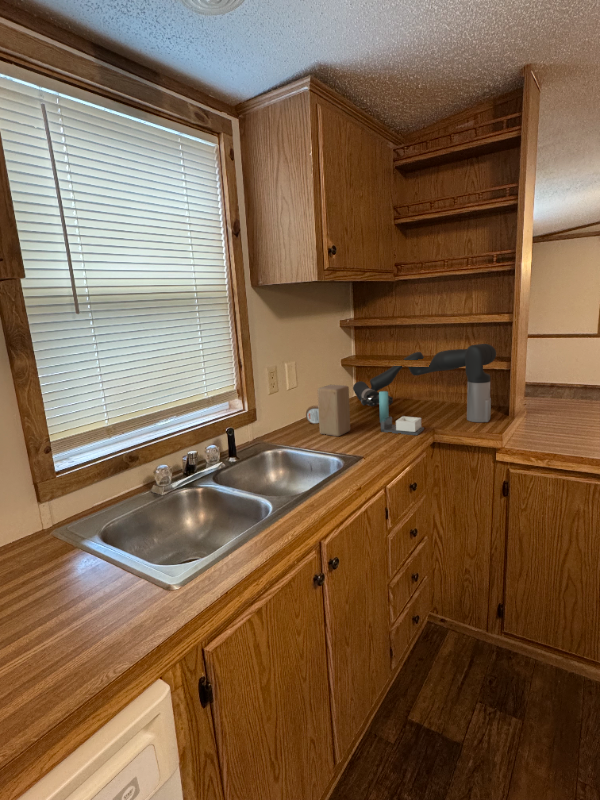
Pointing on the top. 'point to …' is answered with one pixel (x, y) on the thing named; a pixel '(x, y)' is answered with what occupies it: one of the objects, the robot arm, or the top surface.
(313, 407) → the tin
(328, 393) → the wooden block
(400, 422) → the socket block
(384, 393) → the dowel
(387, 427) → the grey tray
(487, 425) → the top surface
